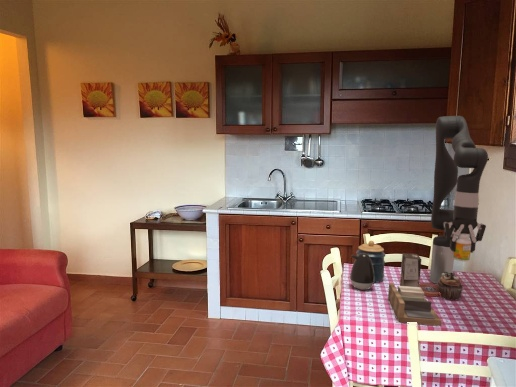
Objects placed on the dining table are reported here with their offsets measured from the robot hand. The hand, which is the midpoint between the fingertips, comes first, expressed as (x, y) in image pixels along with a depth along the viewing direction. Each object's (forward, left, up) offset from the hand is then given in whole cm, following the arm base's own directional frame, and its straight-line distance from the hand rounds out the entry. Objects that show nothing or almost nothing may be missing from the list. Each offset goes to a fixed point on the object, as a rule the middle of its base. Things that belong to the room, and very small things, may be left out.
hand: (461, 251), depth 150 cm
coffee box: (-21, -12, -24) cm, 34 cm away
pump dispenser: (-24, -31, -24) cm, 46 cm away
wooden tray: (-1, -15, -24) cm, 28 cm away
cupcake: (-21, +4, -24) cm, 32 cm away
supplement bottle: (0, 0, -3) cm, 3 cm away
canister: (-38, -26, -24) cm, 52 cm away
